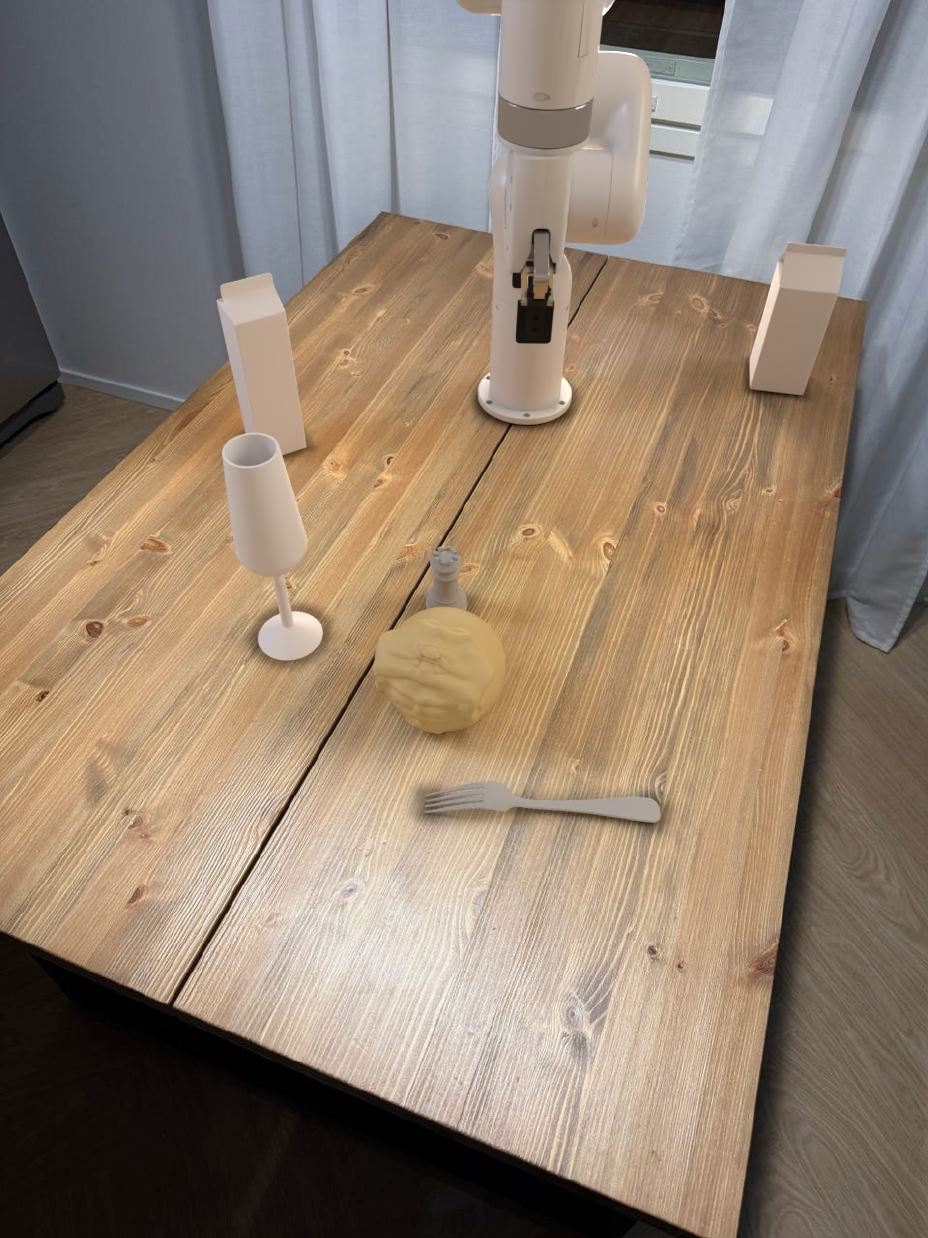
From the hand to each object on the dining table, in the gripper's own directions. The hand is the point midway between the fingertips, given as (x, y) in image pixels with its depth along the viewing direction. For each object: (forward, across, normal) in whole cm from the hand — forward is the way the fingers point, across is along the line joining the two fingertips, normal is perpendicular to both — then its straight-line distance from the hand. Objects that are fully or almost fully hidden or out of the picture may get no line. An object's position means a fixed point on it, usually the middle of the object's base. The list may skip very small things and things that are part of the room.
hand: (530, 313), depth 84 cm
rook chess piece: (+26, +14, -8) cm, 31 cm away
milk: (+26, -14, -30) cm, 42 cm away
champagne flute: (+26, +18, -24) cm, 40 cm away
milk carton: (+26, -29, +37) cm, 54 cm away
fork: (+26, +38, +1) cm, 46 cm away
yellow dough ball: (+26, +26, -8) cm, 38 cm away
